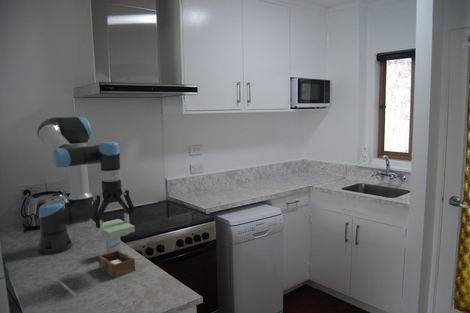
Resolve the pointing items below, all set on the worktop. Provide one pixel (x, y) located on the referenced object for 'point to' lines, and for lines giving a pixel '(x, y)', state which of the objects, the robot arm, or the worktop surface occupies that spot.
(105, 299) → the worktop surface
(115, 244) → the ink box
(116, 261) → the soap bar
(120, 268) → the box
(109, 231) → the lid
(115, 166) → the robot arm
